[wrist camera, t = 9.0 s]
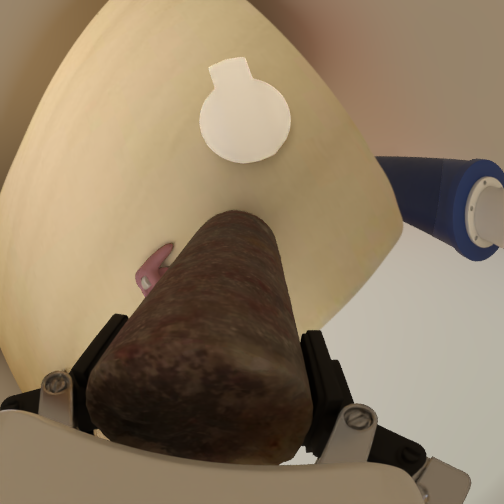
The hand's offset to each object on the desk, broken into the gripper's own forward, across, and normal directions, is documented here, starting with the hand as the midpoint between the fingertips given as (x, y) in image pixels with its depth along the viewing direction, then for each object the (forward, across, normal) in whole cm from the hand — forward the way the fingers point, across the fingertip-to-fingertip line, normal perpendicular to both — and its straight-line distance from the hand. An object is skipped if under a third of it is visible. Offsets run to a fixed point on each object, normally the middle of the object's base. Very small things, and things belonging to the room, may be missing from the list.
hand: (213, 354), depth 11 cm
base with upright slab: (+25, 0, -12) cm, 27 cm away
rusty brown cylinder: (+15, 0, 0) cm, 15 cm away
